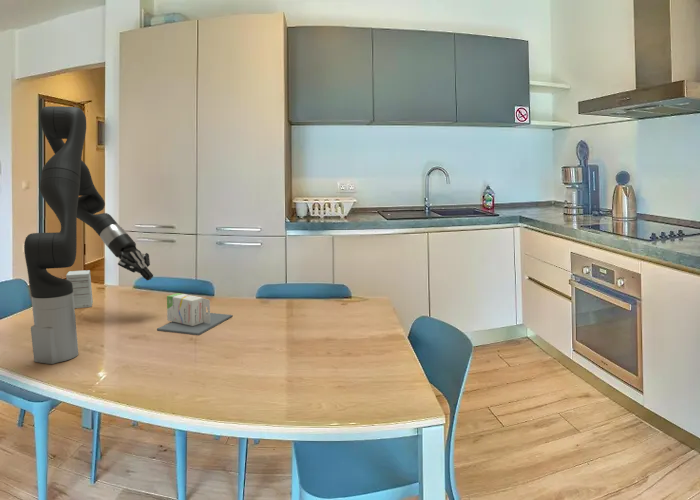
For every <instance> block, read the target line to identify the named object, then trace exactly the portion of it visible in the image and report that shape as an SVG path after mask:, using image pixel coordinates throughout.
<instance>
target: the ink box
mask: <svg viewBox="0 0 700 500" xmlns="http://www.w3.org/2000/svg"><path fill="white" fill-rule="evenodd" d="M206 312H207V315H206ZM210 313H211V301H210V299H208V298H207V299H206V298H204V297H200V296H195V295H189V294H185V293H180V292H177V293H173V294H169V295H166V316H167V319H166V320H167V321H168V322H177V323H181V324H185V325H190V326H194V325H198V324H201V323H203V322H205V323H210Z"/></svg>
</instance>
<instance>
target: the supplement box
mask: <svg viewBox="0 0 700 500" xmlns="http://www.w3.org/2000/svg"><path fill="white" fill-rule="evenodd" d="M65 276H66V277H65V278H66V280H69V281H70V282H71V283H72V285H73V296H74V308H75V309H82V308H92V307H93V302H94V300H93V299H94V298H93V288H92V279H91V278H92V277H91V270H90V269H88V270H72V271H71V270H70V271H68V272H67V273H66V275H65Z"/></svg>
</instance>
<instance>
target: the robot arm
mask: <svg viewBox="0 0 700 500" xmlns="http://www.w3.org/2000/svg"><path fill="white" fill-rule="evenodd" d="M39 121H40V122H39V123H40V126H41V129H42V132H43V134H44V136H45V139H46V140H47V142H48V143H49V146H50V148H51V149H52V151H53V153H54V154H53V155H52V156H51V157H50V158H49V160H47V162H45V164H44V165H43V166H42V169H41V175H40V183H39V184H40V185H39V192H40V194H41V196H42V198H43V199H44V201H45V202H46V204H47V206H49V208H50V209H51V210H52V211H53V214H55V216H56V217H57V220H58V222H59V223H60V231H59V232H32V233H29V234H28V235H26V237H25V239H24V242H23V243H24V245H23V247H24V248H23V249H24V251H23V252H24V259H25V264H26V269H27V276H28V284H29V289H30V296H31V297H30V298H31V305H32V319H33V325H32V326H30V333H31V334H30V335H31V336H30V337H31V343H32V344H31V346H32V354H33V355H32V356H33V362H34V363H41V364H47V365H54V364H57V363H61V362H65V361H66V362H67V361H69V360H72V359H75V358H77V356H78V355H79V346H78V345H79V344H78V334H77V321H76V310H75V309H76V308H74V296H73V285H72V283H71V282H70V281H69V280H67V279H65V278H63V277H62V278H61V277H58V276H55V275H53V274H51V273H50V272H49V271H48V270H49V269H65V268H70V267H73V265H74V264H75V261H76V259H77V258H76V257H77V244H78V243H77V231H78V230H77V225H78V224H77V219H78V220H80V221H81V222H84V224H86V225H88V226H89V227H91V229H93V230H94V232H95V233H96V234H97V235H98V236H99V237H100V239H101V241H102V243H104V245H105V246H106V247H107V248H108V249H109V250H110V252H111V253H112V254H113V255H114V256H115V257H116V258H119V261H118V263H117V265H118V266H120V267H121V268H123V269H126V270H127V271H130V272H132V273H136V272H137V273H138V274H140V275H141V276H142V278H143V279H145V280H146V281H150V280H152V279H153V277H154V274H153V273H152V272H151V271H150V269H149V266H150V265H151V261H150V255H149V253H148V252H145V253H142V252H141V251H140V250H139V249H138V248H137V244H136V242H135V241H134V239H133V238H132V237H131V236H130V235H129V234H128V232H127V231H125V229H124V228H123V227H122V226H121V225H120V224H118V222H117V221H116V220H115V219H114V218H113V216H112V215H111V214H109V213H107V212H103V213H100V212H101V211H103V210H104V208H105V206H106V202H105V200H104V198H103V197H102V196H101V194H100V193H99V191H98V190H97V188H96V187H95V185H94V181H93V178H92V175H91V172H90V169H89V167H88V165H87V164H86V163H85V162H84V161H83V159H82V155H83V151H84V150H83V149H84V146H85V145H84V144H85V139H86V133H87V119H86V114H85V112H84V111H83V110H82V108H79V107H76V106H55V105H53V106H49V105H48V106H44V107H42V108H41V110H40V112H39ZM64 140H66V141H64ZM98 213H99V214H98ZM47 269H48V270H47Z"/></svg>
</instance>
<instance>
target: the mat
mask: <svg viewBox="0 0 700 500" xmlns="http://www.w3.org/2000/svg"><path fill="white" fill-rule="evenodd" d="M207 313H208V311H206V315H207ZM232 318H233V314H228V313H227V314H226V313H216V312H210V323H205V322H203V323H201V324H198V325H194V326H190V325H185V324H181V323H177V322H172V321H169V323H166V324H164V325H162V326H160V327H158V328H156V331H157V332H165V333H166V332H167V333H168V332H169V333H177V334H184V335H193V336H194V335H195V336H200V335H202V334H204V333H206V332H207V331H209V330H211V329H213V328H215V327H217V326H219V325H221V324H222V323H224V322H226V321H227V320H229V319H232Z"/></svg>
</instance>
